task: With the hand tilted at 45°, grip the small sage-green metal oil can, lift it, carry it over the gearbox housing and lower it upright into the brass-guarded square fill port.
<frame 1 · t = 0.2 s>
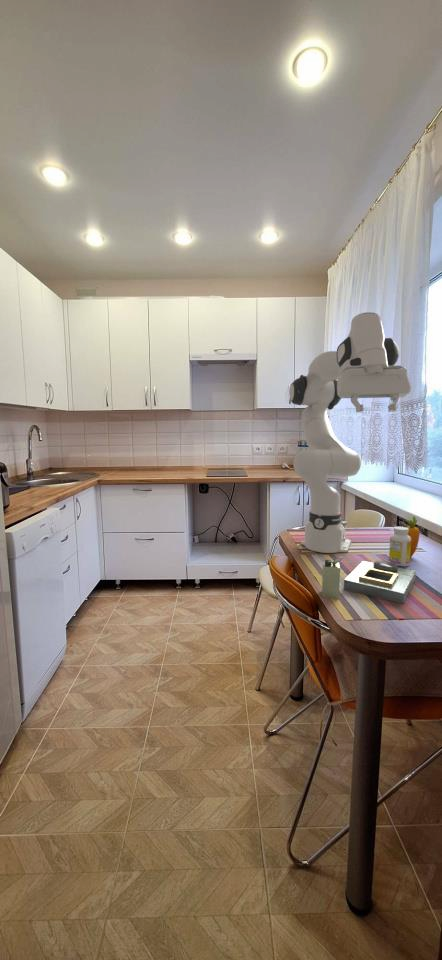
hand: (376, 411, 107), 52 cm above the table, tool tilted 20°, fingers open, 8 cm apart
supplement bottle: (398, 564, 133), on the table
carrot: (410, 557, 140), on the table
gearbox: (380, 584, 115), on the table
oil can: (330, 595, 108), on the table
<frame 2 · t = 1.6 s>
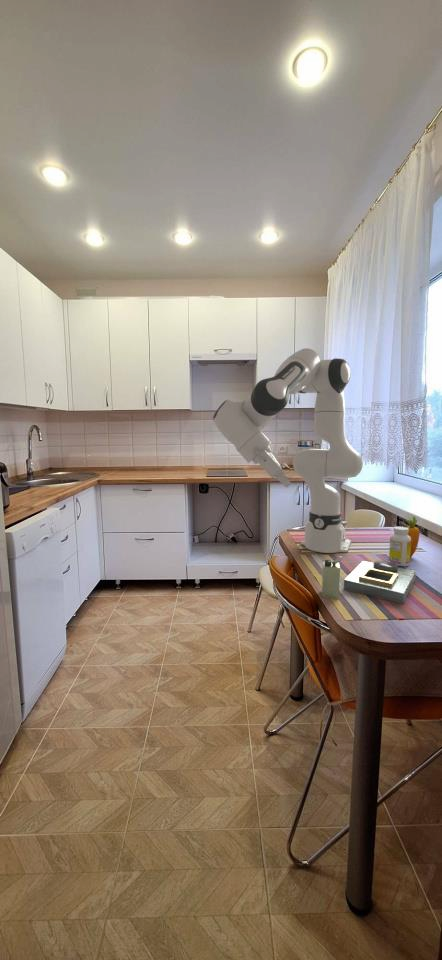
hand: (288, 484, 109), 31 cm above the table, tool tilted 45°, fingers open, 8 cm apart
nothing on the table moved.
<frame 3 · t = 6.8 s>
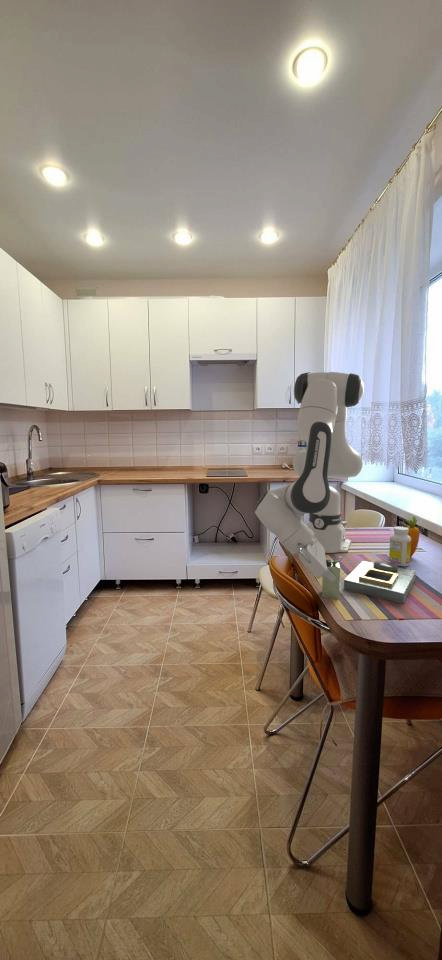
hand: (333, 575, 107), 6 cm above the table, tool tilted 45°, fingers closed on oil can, 4 cm apart
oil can: (330, 595, 108), on the table, touching gripper
everything else where it was.
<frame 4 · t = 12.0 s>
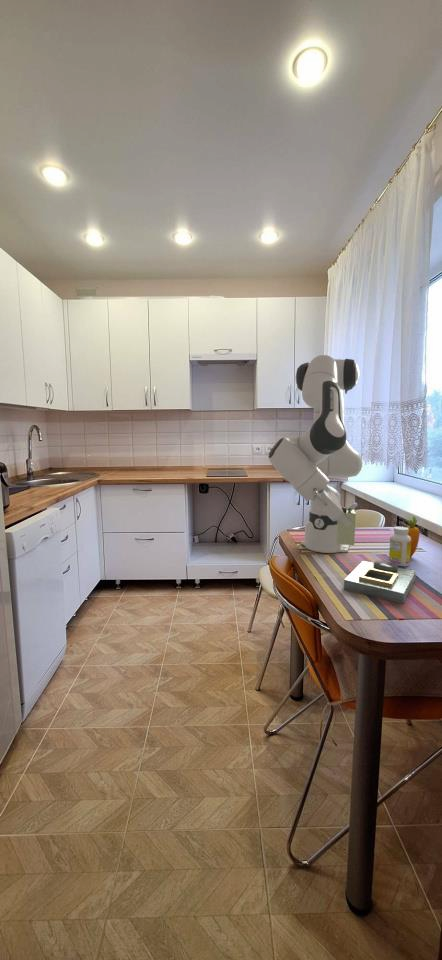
hand: (348, 522, 107), 21 cm above the table, tool tilted 45°, fingers closed on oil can, 4 cm apart
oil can: (344, 542, 108), point 15 cm above the table, touching gripper
everything else where it was.
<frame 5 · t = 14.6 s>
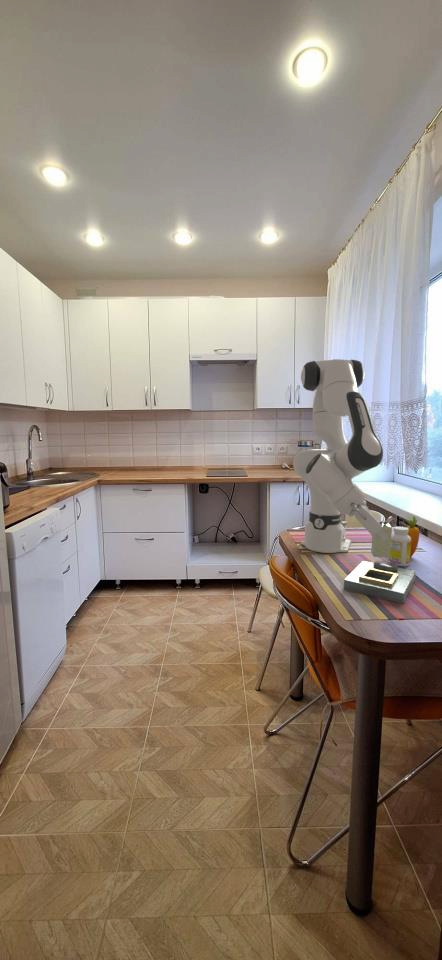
hand: (383, 535, 111), 16 cm above the table, tool tilted 45°, fingers closed on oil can, 4 cm apart
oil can: (380, 554, 111), point 10 cm above the table, touching gripper
everything else where it was.
when the fingers open (7 cm above the table, at t = 17.0 s): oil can drops 1 cm, resting in gearbox.
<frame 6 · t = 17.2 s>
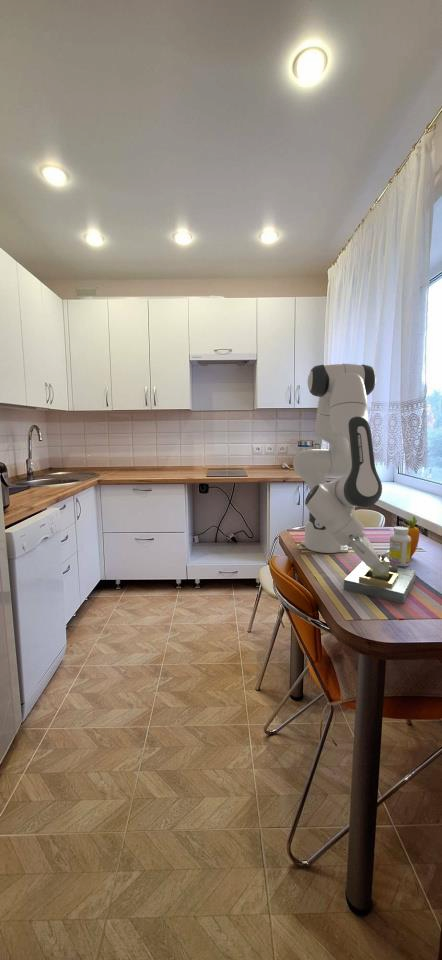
hand: (381, 565, 112), 7 cm above the table, tool tilted 45°, fingers open, 6 cm apart
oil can: (378, 588, 113), resting in gearbox
everything else where it was.
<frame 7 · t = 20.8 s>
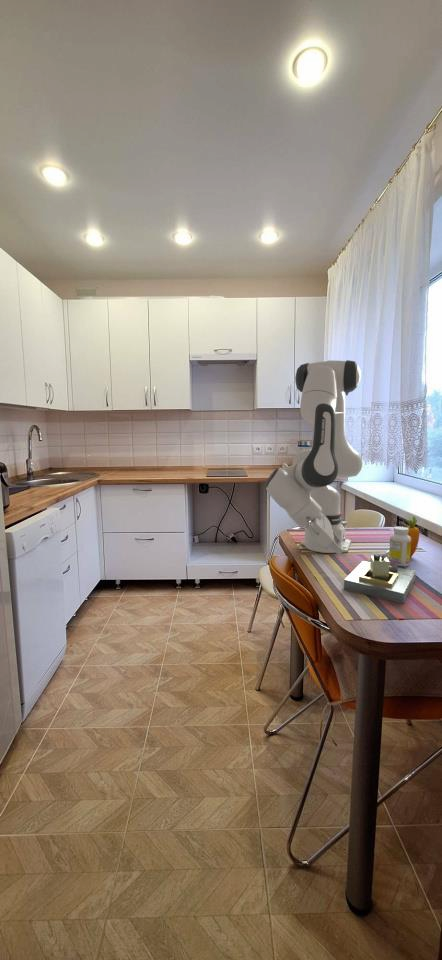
hand: (339, 547, 114), 12 cm above the table, tool tilted 45°, fingers open, 8 cm apart
nothing on the table moved.
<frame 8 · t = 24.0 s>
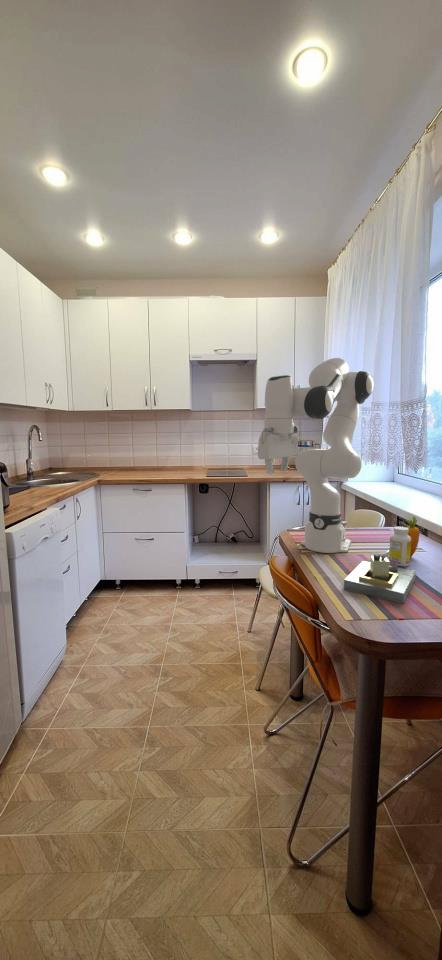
hand: (277, 471, 121), 33 cm above the table, tool pointing down, fingers open, 8 cm apart
nothing on the table moved.
at the end: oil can 0.1 cm from the target spot on the gearbox, point 0.0 cm above the gearbox's base; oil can tilted 0°; the gripper is holding nothing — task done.
